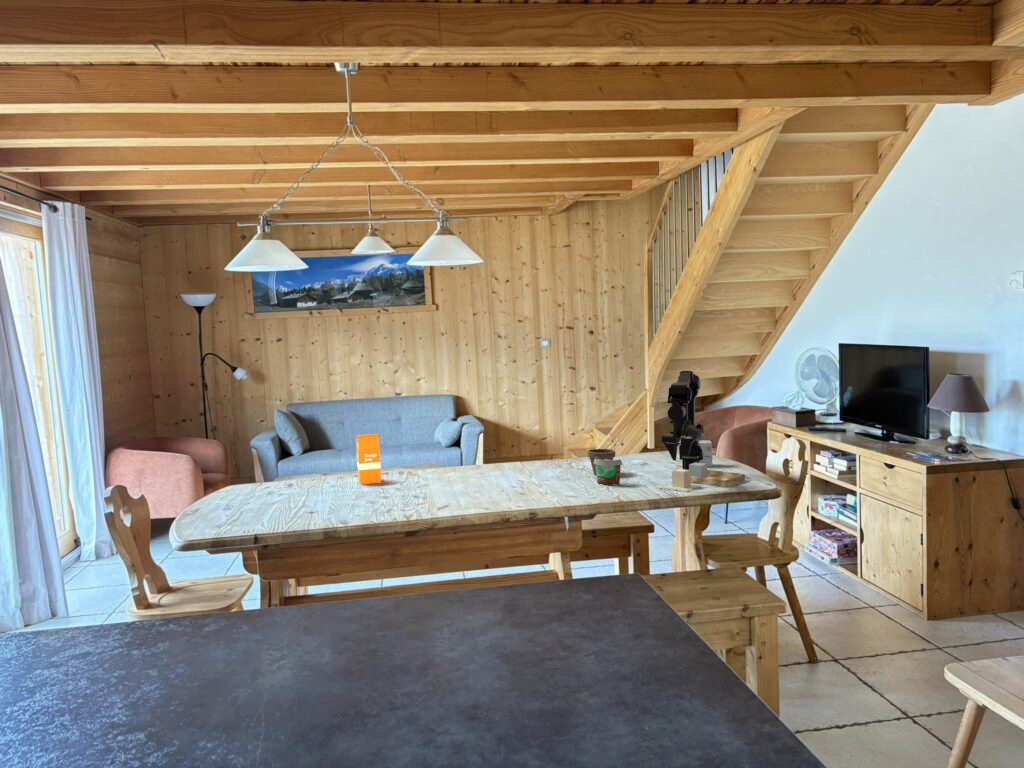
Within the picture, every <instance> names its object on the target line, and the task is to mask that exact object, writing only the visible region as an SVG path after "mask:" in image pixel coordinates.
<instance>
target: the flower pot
mask: <svg viewBox="0 0 1024 768" xmlns="http://www.w3.org/2000/svg"><path fill="white" fill-rule="evenodd" d="M587 457H588V458H589V460H590V463H591V468H592V472H593V474H594V475H595V476H597V474H596V465H595V464H594V459H595V457H598V459H610V460H614V458H615V457H616V450H615V449H611V448H593V449H589V450H587Z"/></svg>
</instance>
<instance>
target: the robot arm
mask: <svg viewBox="0 0 1024 768" xmlns="http://www.w3.org/2000/svg"><path fill="white" fill-rule="evenodd" d="M700 379H701V378H700V376H698V375H697V374H695V373H694V371H692V370H681V371H679V375H678V377H677V381H676V382H672V384H671V385H670V386H669V388H668V393H667V394H668V395H667V404H671V406H669V408H668V411H667V416H668V419H670V420H669V422H670V423H669V424H672V425H671V426H672V428H671V429H672V430H671V431H669V432H670V433H664V434H662V435H661V436H660V442H661V443H662V444H663V445H664V446H665V448H666V449H667V451H668V454H669V455H670V457H671V459H672V461H677V454H679V460H680V461H681V462H682V468H681V469H685V470H689V464H692V463H700V461H701V460H703V452H702V449H701V446H699V441H700V440H699V439H701V438H702V435H703V434H704V433H705V431H704V425H703V424H701V423H698V424H697V425H696V398H697V396H698V395H699V393H700V390H701V380H700ZM678 447H679V448H678ZM698 456H699V457H698Z"/></svg>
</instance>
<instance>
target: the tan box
mask: <svg viewBox="0 0 1024 768" xmlns="http://www.w3.org/2000/svg"><path fill="white" fill-rule="evenodd" d="M671 483H672V487H679V488H686V487H689V486H691V484H692V483H691V470H685V469H682V468H677V469H674V470H672V471H671Z"/></svg>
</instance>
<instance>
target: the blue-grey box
mask: <svg viewBox="0 0 1024 768" xmlns="http://www.w3.org/2000/svg"><path fill="white" fill-rule="evenodd" d="M689 470H691V476H693V477H702V478H707V470H708V467H707V464H704V463H692V464H689Z"/></svg>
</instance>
